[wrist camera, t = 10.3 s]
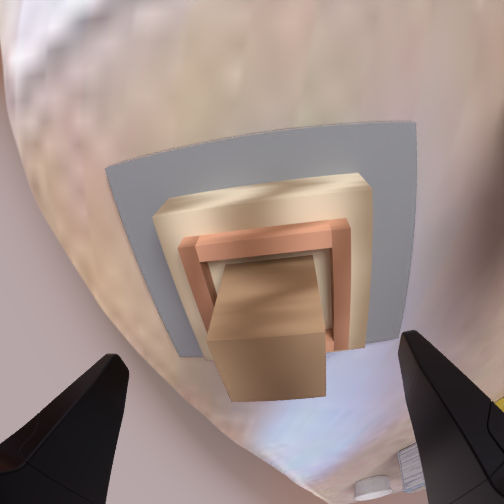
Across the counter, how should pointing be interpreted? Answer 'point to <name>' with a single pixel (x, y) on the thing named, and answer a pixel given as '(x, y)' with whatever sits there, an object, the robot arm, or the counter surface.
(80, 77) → the counter surface
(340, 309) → the socket plinth
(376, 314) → the grey base plate
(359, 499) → the ramekin
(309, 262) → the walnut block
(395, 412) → the counter surface
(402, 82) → the counter surface
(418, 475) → the medicine box
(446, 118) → the counter surface
